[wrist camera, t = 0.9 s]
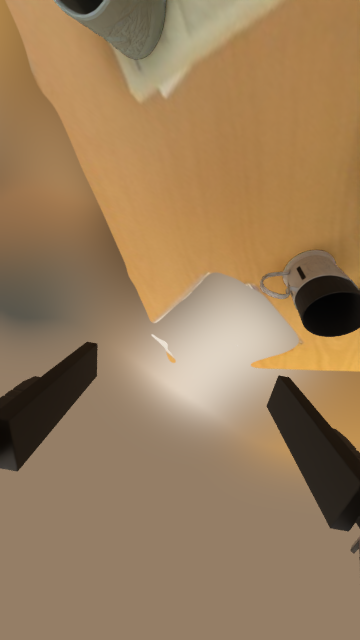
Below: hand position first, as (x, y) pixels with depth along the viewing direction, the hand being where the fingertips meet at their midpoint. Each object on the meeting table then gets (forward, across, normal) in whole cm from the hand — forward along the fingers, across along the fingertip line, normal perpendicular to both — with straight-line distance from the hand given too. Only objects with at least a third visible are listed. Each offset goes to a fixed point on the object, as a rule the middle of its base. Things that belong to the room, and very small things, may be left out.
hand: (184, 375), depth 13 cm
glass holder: (+28, +20, +10) cm, 35 cm away
